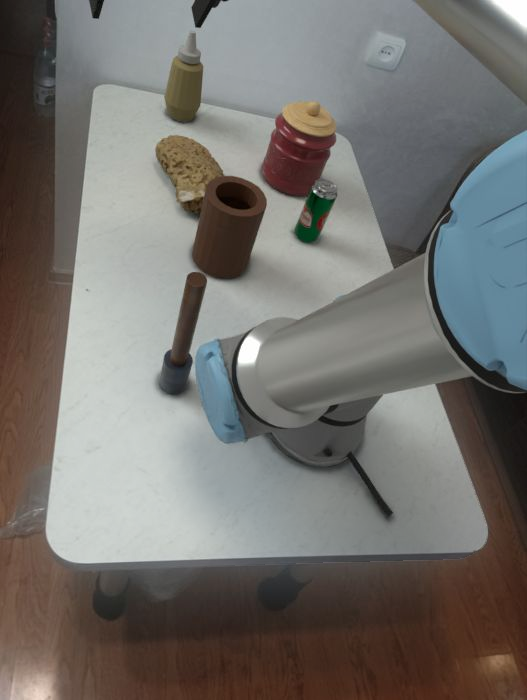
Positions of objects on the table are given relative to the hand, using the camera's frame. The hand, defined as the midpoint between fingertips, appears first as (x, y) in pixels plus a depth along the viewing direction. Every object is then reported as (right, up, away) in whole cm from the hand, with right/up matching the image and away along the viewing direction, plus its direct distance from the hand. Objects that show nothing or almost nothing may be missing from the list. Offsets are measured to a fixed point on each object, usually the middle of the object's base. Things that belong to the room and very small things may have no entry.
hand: (146, 13), depth 70 cm
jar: (+7, -27, +27) cm, 39 cm away
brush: (+2, -48, +9) cm, 49 cm away
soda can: (+23, -21, +38) cm, 49 cm away
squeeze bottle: (-4, +9, +52) cm, 53 cm away
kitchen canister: (+21, -6, +48) cm, 53 cm away
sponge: (0, -11, +38) cm, 39 cm away
